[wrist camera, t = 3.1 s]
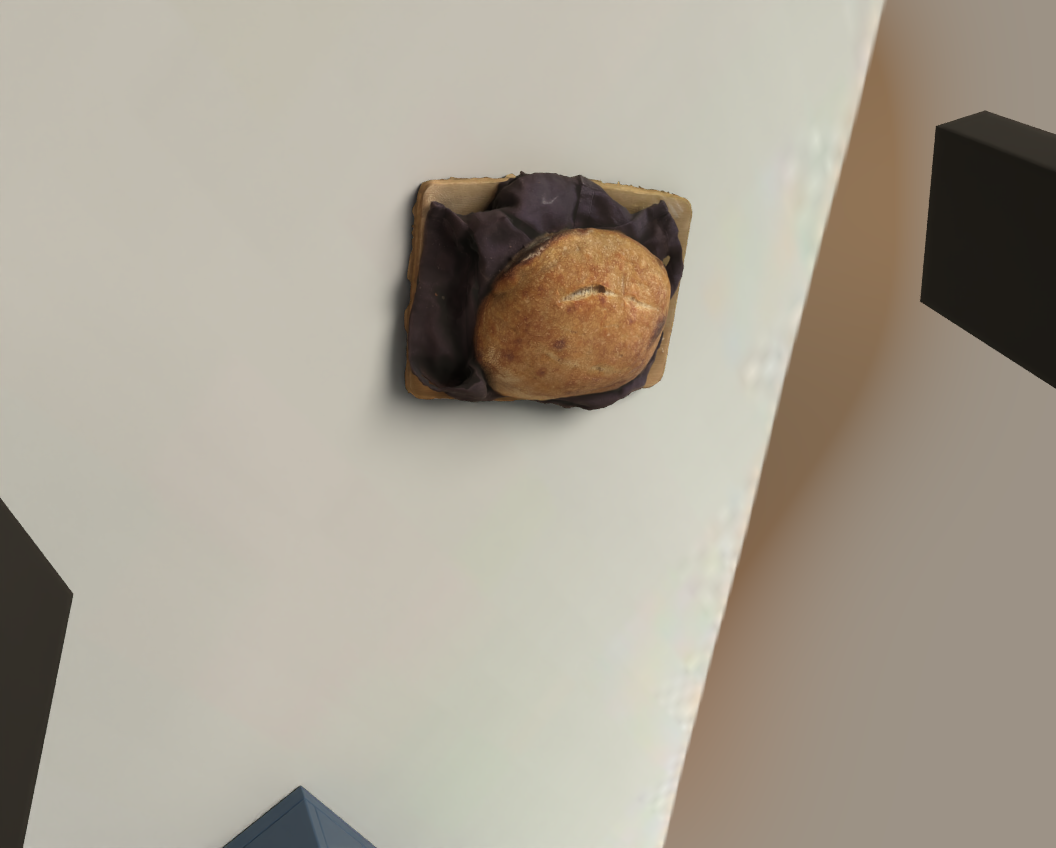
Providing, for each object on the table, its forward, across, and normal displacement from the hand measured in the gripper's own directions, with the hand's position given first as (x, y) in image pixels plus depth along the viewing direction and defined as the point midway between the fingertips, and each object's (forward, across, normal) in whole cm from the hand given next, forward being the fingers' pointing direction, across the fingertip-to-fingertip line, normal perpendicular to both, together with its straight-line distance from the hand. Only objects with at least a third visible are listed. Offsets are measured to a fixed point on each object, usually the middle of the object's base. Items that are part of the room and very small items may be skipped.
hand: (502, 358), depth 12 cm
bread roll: (+17, +5, -9) cm, 20 cm away
